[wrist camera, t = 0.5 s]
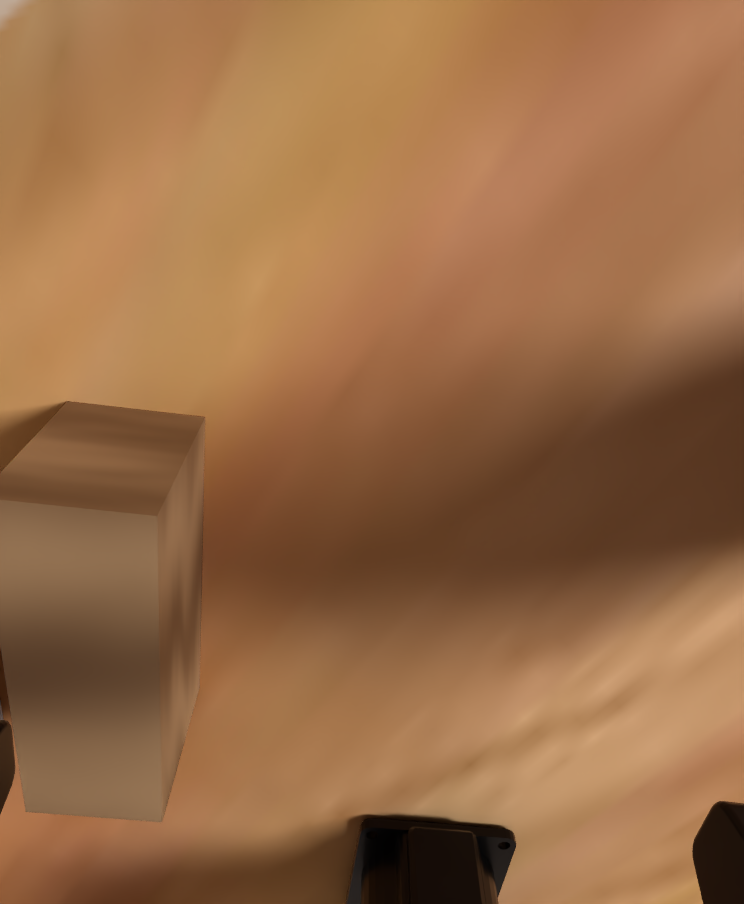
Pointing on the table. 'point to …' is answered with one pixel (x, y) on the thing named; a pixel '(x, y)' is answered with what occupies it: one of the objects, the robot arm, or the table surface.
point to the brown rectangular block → (102, 607)
